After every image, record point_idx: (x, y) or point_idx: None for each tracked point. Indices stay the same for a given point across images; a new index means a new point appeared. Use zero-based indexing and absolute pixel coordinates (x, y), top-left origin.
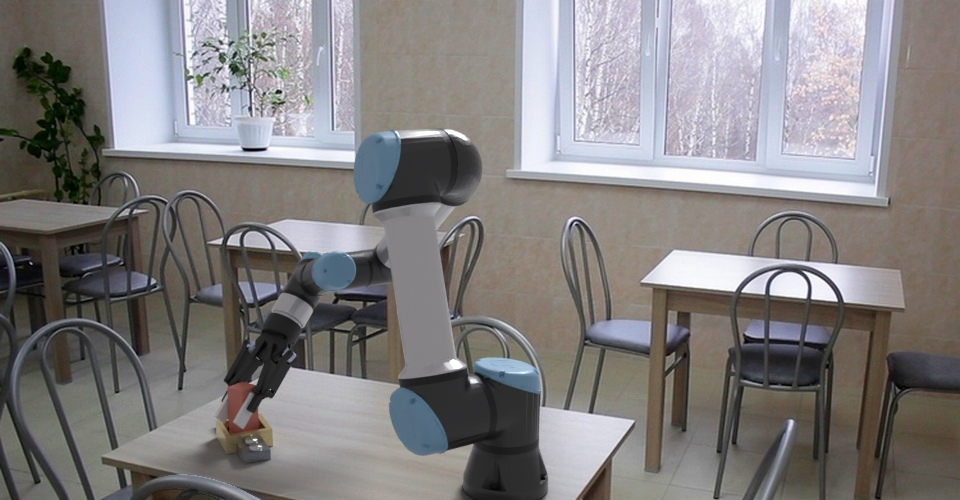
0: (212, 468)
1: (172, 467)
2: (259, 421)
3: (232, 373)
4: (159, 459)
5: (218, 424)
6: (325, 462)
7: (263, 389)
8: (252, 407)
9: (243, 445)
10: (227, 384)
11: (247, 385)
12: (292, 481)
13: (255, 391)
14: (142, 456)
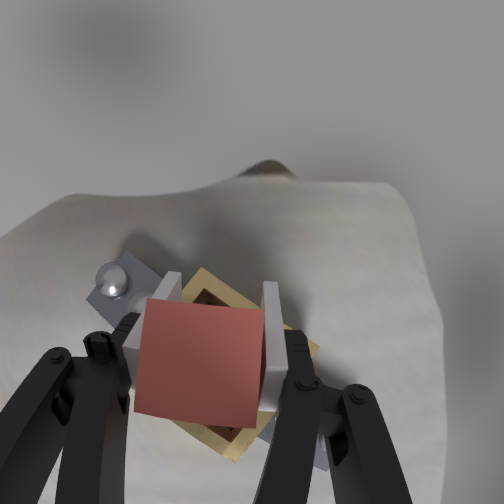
0: (188, 218)
1: (267, 188)
2: (204, 424)
3: (351, 433)
4: (320, 203)
5: (289, 328)
6: (14, 341)
7: (63, 358)
8: (121, 319)
9: (156, 289)
10: (337, 389)
11: (180, 389)
12: (32, 247)
13: (92, 334)
14: (357, 200)
